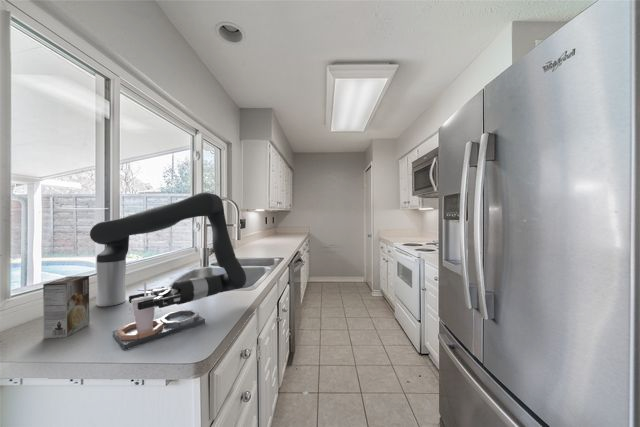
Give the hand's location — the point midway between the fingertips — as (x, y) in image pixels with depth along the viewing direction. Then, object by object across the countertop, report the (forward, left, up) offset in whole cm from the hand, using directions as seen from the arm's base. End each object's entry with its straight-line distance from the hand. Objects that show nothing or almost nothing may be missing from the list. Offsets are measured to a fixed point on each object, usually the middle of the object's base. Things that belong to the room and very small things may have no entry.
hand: (133, 302), depth 75 cm
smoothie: (+2, +2, -9) cm, 9 cm away
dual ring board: (0, +7, -10) cm, 13 cm away
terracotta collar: (0, +2, -9) cm, 9 cm away
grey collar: (0, +13, -9) cm, 16 cm away
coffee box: (-21, -12, -11) cm, 26 cm away
